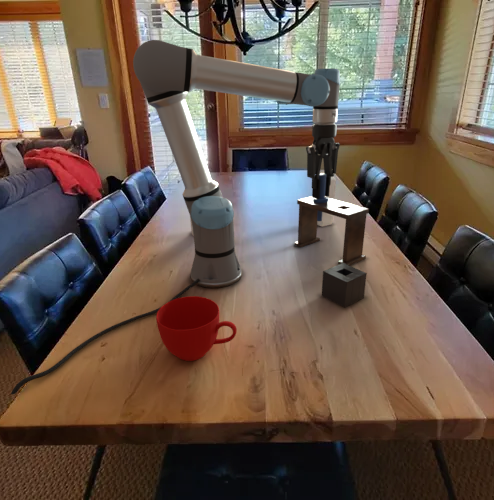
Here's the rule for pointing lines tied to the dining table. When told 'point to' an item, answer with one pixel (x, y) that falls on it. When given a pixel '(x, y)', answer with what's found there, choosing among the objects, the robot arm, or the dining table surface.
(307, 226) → the stand
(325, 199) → the peg
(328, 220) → the milk
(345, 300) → the holder
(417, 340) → the dining table surface
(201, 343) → the ceramic cup
